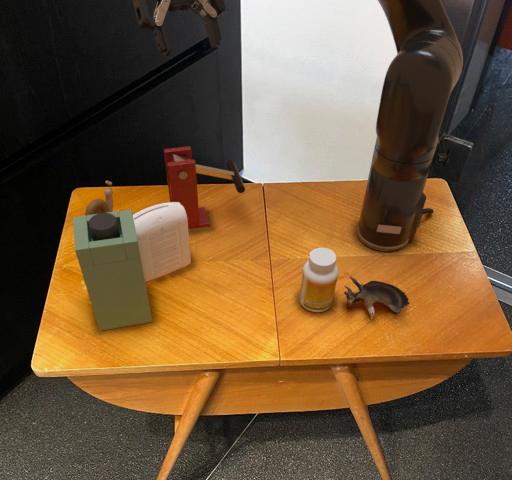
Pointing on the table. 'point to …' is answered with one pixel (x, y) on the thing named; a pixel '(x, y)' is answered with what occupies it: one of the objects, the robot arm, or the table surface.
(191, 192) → the red lever stand
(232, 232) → the table surface
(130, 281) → the box
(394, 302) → the toy triceratops
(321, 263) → the supplement bottle
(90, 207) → the snail figurine
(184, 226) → the photo printer
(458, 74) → the robot arm
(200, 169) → the wooden lever
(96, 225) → the button
